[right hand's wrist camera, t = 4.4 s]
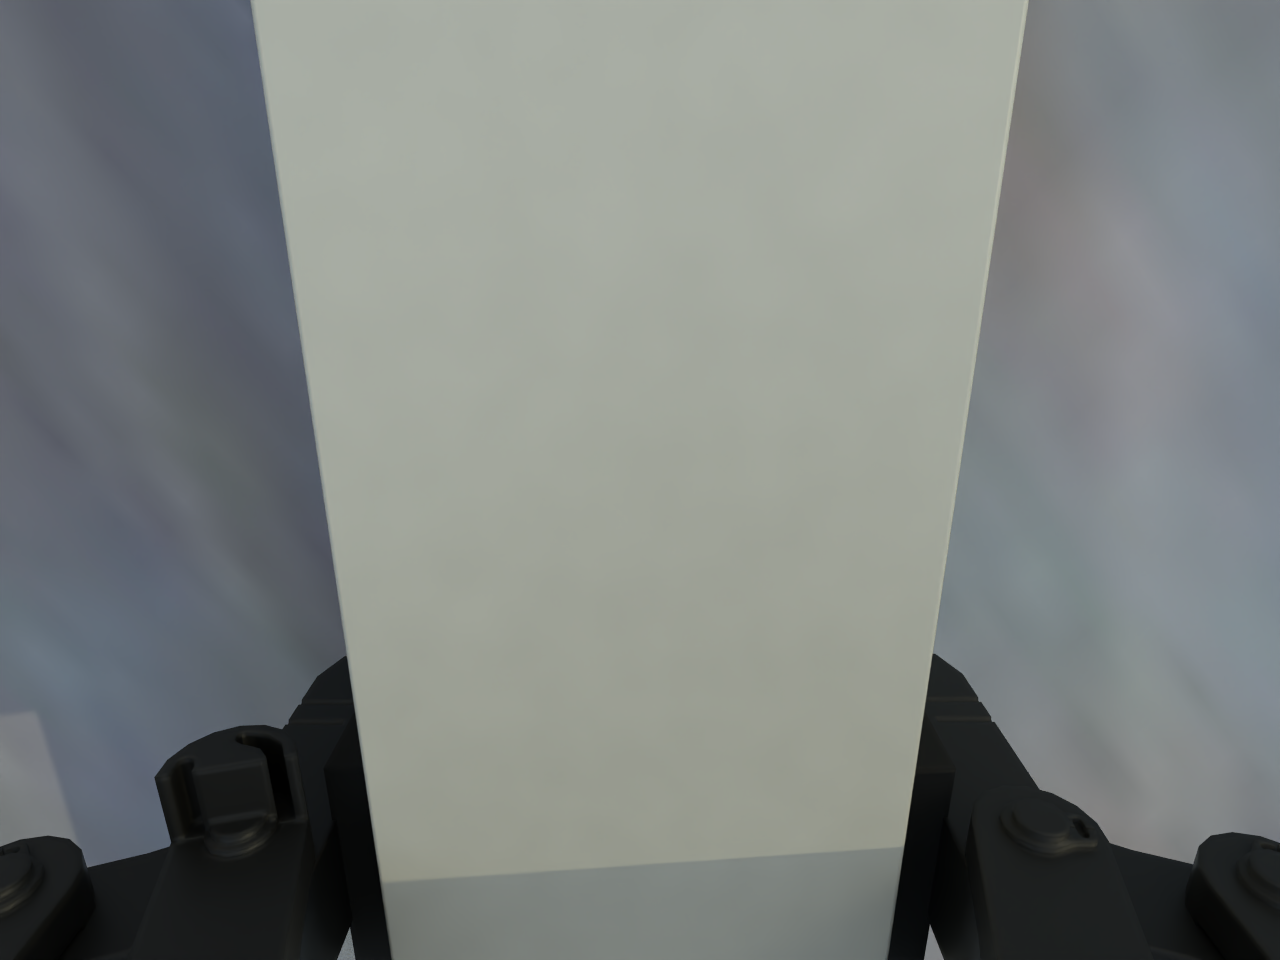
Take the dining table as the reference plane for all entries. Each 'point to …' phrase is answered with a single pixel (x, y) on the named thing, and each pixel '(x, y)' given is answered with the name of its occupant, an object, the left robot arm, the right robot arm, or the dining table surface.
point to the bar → (639, 444)
